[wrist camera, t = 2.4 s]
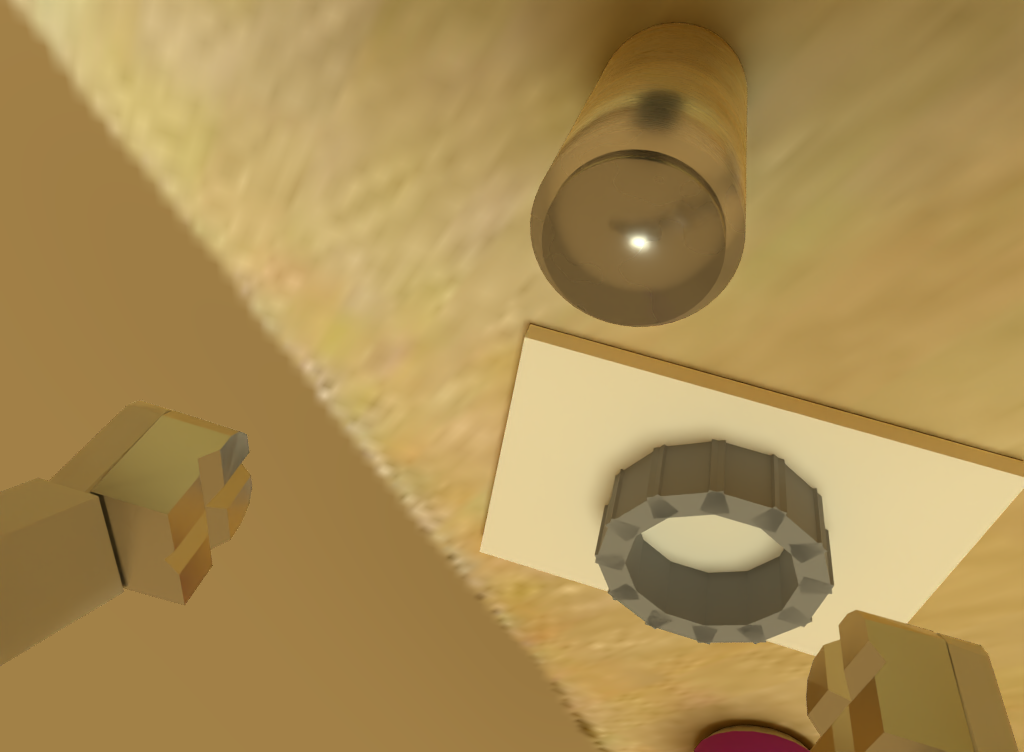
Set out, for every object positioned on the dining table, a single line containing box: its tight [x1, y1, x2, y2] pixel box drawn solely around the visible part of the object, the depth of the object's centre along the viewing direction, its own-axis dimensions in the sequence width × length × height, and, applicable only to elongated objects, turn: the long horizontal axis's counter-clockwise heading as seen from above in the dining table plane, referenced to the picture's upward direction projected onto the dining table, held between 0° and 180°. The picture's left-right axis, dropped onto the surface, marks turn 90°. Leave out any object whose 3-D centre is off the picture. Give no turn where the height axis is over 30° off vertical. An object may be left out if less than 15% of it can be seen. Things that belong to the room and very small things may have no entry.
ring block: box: [480, 324, 1024, 656], centre depth 33 cm, size 20×14×4 cm
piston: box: [530, 23, 747, 327], centre depth 21 cm, size 5×5×11 cm
